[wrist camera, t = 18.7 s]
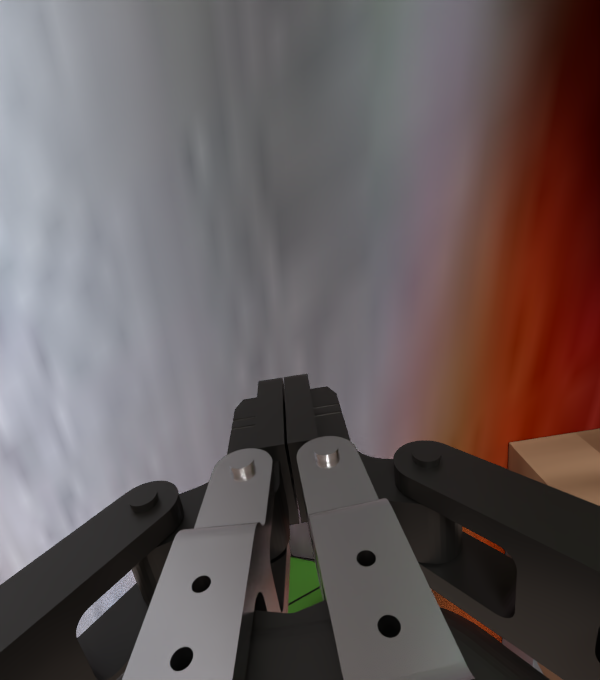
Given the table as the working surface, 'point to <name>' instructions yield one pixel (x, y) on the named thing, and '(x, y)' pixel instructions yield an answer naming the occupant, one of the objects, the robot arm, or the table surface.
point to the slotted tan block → (561, 469)
